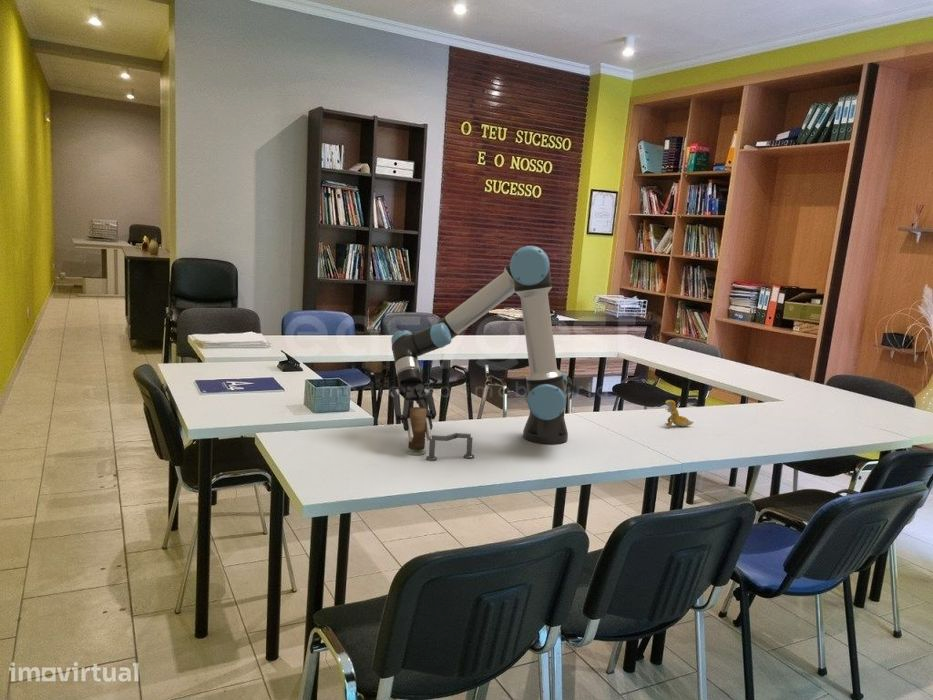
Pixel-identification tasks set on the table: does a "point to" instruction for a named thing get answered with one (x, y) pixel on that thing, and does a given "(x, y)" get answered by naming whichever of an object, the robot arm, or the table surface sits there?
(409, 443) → the dowel
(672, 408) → the toy
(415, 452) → the pad
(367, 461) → the table surface
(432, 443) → the grey bent handle
